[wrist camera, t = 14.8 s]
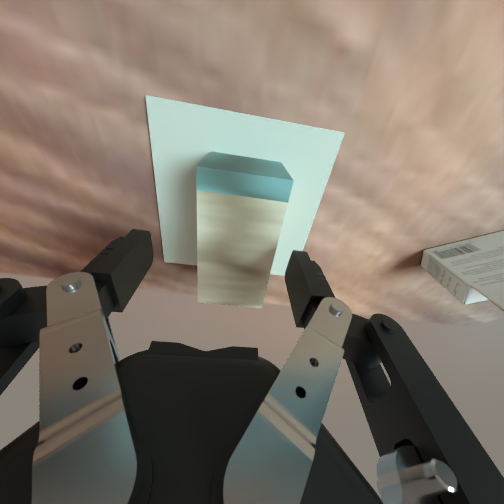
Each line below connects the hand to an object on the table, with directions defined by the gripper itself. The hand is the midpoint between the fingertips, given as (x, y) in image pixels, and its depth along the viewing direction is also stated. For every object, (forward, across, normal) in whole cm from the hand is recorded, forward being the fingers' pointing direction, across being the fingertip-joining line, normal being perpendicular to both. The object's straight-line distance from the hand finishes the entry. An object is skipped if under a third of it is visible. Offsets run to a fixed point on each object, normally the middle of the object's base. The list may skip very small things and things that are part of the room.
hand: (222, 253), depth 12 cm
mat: (+6, -1, 0) cm, 7 cm away
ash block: (+4, -1, +6) cm, 7 cm away
